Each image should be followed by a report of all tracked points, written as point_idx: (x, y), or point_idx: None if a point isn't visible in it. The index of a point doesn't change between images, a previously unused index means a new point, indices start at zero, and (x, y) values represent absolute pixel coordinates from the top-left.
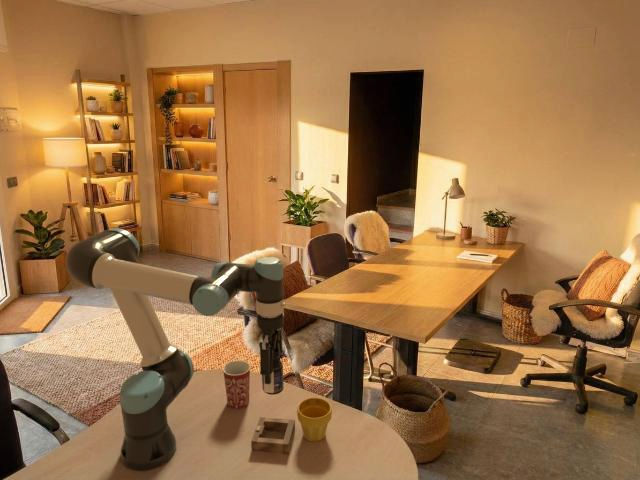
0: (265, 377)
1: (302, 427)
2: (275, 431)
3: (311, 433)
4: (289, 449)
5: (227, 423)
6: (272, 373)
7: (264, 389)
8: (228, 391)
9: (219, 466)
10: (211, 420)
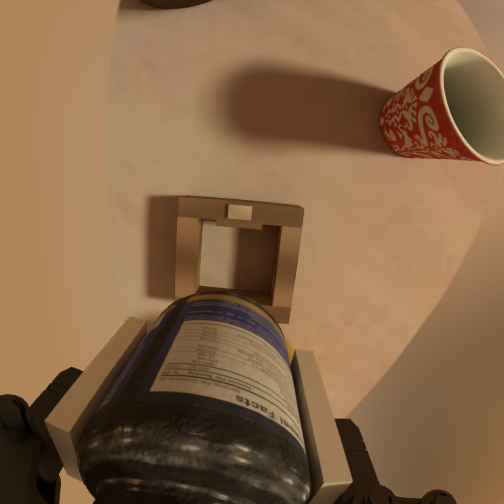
0: (35, 408)
1: None
2: (275, 254)
3: None
4: None
5: (309, 101)
6: (67, 471)
7: (121, 328)
8: (407, 85)
9: (130, 123)
10: (320, 57)
